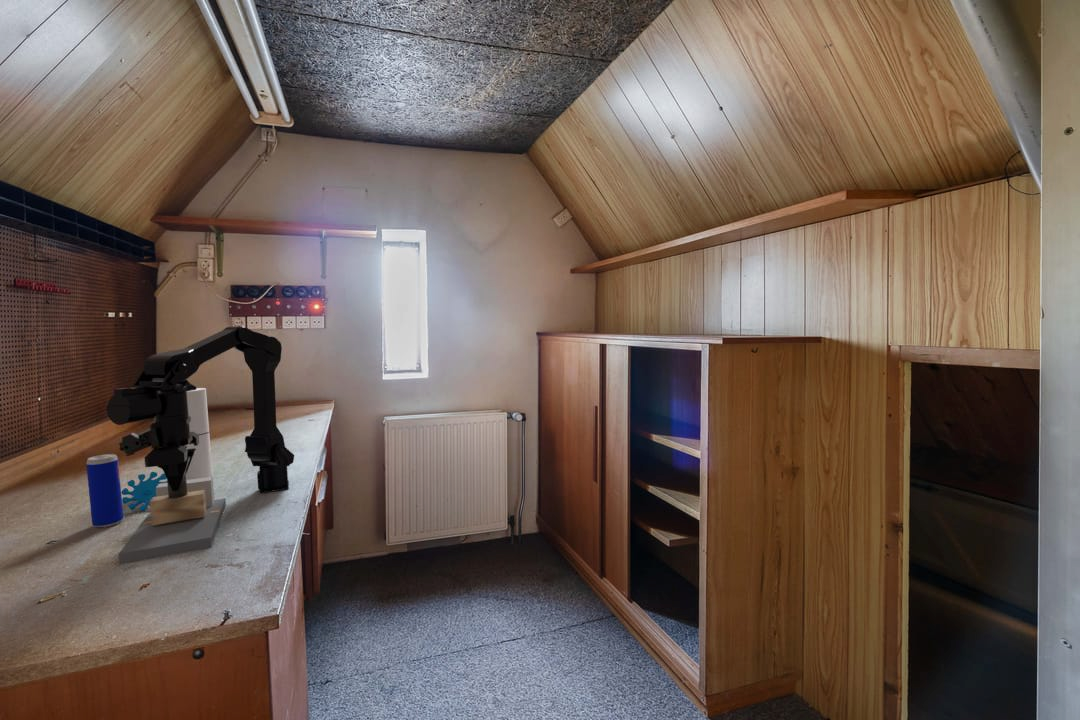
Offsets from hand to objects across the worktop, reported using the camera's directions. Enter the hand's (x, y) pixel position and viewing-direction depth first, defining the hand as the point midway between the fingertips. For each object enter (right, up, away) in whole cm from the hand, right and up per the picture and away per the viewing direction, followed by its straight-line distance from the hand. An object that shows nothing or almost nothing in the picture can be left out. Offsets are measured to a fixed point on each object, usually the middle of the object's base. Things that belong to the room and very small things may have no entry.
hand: (177, 488), depth 103 cm
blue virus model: (-17, -8, +15) cm, 24 cm away
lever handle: (0, -7, 0) cm, 7 cm away
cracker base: (+1, -9, 0) cm, 9 cm away
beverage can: (-19, -9, +5) cm, 21 cm away
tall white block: (-21, -7, +37) cm, 43 cm away
